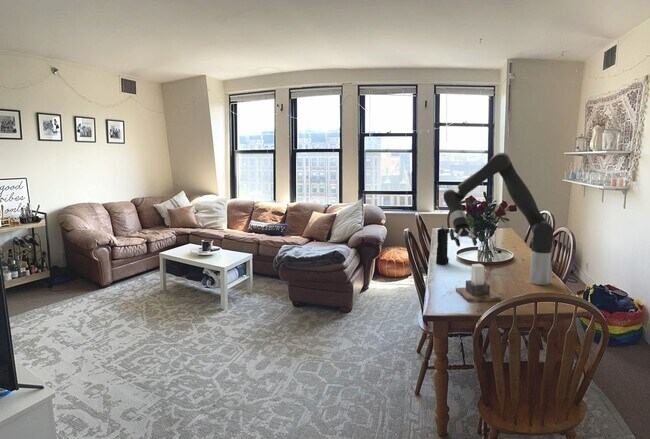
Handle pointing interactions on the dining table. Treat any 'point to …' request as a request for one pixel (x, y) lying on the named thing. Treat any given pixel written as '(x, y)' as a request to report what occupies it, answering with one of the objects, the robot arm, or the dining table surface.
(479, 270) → the plug block
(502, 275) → the dining table surface
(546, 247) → the robot arm
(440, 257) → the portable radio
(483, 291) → the square socket base
